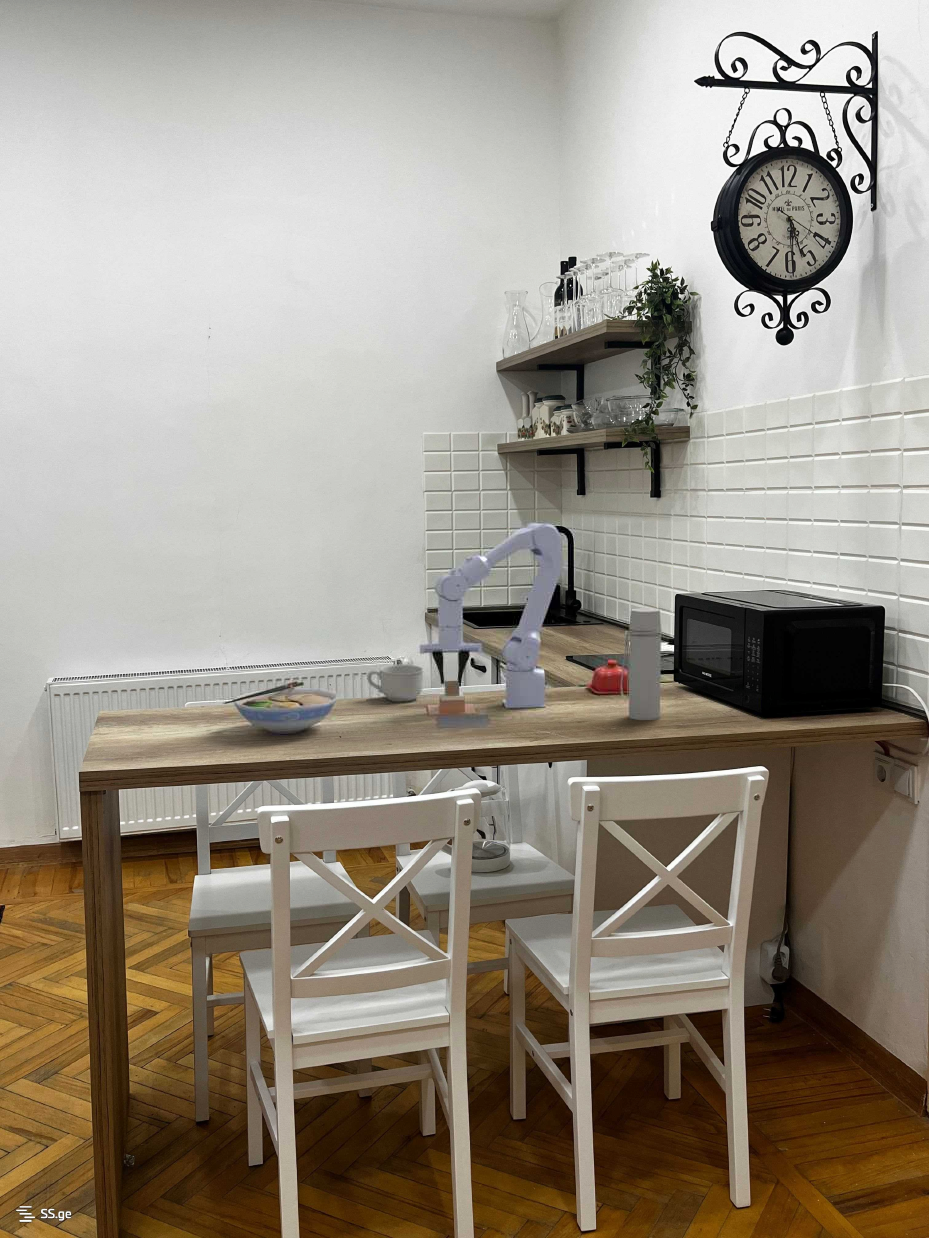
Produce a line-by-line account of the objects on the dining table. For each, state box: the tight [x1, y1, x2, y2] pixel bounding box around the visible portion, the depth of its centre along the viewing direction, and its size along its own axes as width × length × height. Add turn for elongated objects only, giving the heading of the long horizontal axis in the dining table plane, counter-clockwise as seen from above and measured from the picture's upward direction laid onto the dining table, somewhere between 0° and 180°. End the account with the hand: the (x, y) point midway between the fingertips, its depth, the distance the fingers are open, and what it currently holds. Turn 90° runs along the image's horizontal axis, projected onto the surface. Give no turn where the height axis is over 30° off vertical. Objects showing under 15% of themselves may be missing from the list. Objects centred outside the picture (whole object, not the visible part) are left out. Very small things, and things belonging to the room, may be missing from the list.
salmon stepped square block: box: [426, 693, 478, 717], centre depth 253 cm, size 11×11×4 cm
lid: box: [439, 680, 466, 701], centre depth 251 cm, size 5×5×4 cm
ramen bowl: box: [222, 681, 339, 735], centre depth 234 cm, size 25×23×8 cm
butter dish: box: [586, 659, 627, 695], centre depth 275 cm, size 12×12×8 cm
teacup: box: [366, 664, 424, 703], centre depth 268 cm, size 14×11×8 cm
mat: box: [435, 714, 493, 729], centre depth 241 cm, size 12×12×1 cm
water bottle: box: [620, 607, 663, 721], centre depth 241 cm, size 9×8×25 cm
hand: (451, 683), depth 252 cm, fingers open, 3 cm apart
